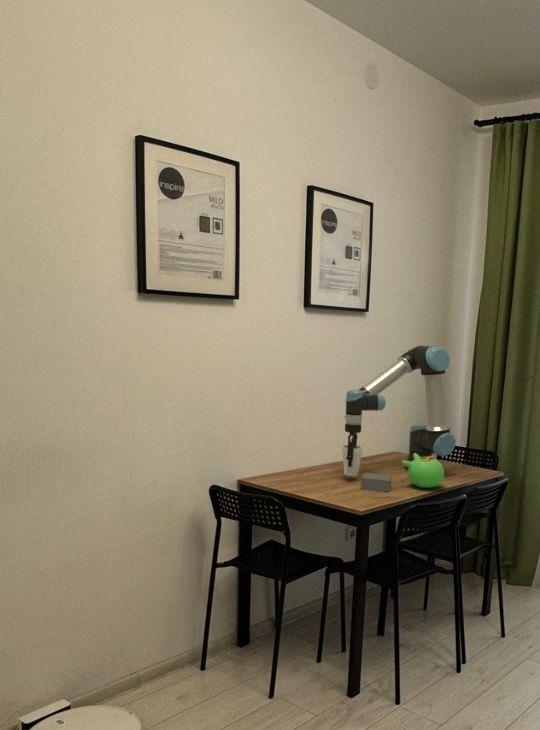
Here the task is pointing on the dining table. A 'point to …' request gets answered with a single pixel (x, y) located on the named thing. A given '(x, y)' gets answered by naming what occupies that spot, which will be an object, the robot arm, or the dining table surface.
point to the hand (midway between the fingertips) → (351, 471)
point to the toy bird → (425, 471)
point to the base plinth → (376, 482)
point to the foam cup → (356, 459)
